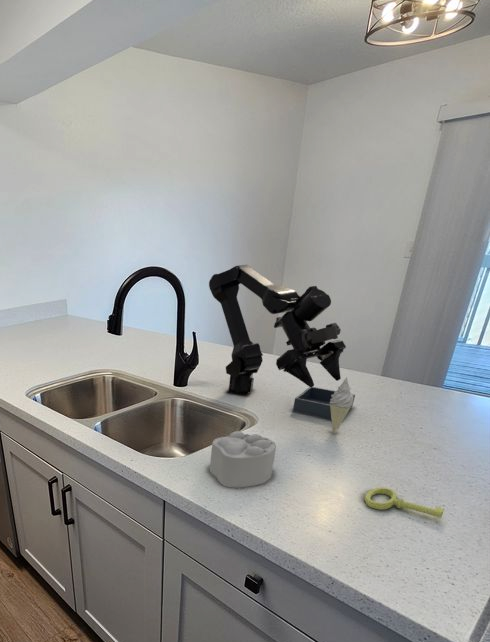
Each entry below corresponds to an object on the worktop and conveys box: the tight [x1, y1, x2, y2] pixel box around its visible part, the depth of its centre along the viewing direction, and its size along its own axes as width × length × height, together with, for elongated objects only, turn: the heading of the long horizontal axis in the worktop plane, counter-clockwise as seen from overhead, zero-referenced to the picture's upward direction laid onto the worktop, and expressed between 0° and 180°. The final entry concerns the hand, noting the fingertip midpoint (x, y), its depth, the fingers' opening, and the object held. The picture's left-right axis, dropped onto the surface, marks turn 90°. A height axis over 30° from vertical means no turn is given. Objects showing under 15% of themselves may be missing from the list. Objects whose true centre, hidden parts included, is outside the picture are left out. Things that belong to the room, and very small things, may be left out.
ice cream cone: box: [329, 376, 354, 434], centre depth 108 cm, size 5×5×15 cm
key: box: [364, 487, 445, 519], centre depth 83 cm, size 7×12×2 cm, turn 60°
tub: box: [292, 386, 356, 421], centre depth 124 cm, size 12×12×4 cm
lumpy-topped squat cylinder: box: [209, 430, 277, 489], centre depth 95 cm, size 10×13×9 cm
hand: (325, 383), depth 111 cm, fingers open, 9 cm apart
